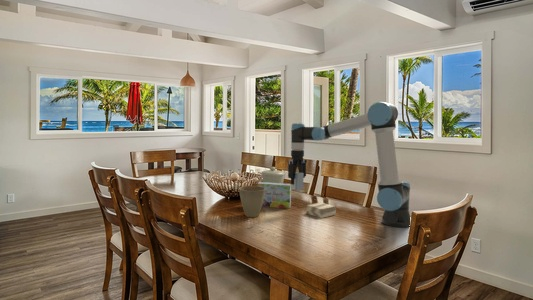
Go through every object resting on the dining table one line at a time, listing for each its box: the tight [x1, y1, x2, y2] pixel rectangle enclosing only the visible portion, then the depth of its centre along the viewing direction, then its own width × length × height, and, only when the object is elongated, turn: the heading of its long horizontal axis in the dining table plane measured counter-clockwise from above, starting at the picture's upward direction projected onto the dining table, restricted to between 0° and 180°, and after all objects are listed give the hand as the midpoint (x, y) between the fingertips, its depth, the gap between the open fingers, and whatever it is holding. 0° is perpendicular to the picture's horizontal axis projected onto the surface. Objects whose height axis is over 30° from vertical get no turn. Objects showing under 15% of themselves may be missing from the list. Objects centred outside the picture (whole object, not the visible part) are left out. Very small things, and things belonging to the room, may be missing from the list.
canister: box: [260, 166, 286, 184], centre depth 251 cm, size 18×18×21 cm
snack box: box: [256, 181, 292, 210], centre depth 218 cm, size 21×6×15 cm, turn 76°
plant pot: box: [238, 185, 265, 218], centre depth 196 cm, size 15×15×16 cm
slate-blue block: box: [294, 171, 304, 192], centre depth 201 cm, size 5×5×10 cm
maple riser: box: [306, 201, 337, 219], centre depth 202 cm, size 12×12×5 cm
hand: (297, 189), depth 202 cm, fingers closed on slate-blue block, 5 cm apart
